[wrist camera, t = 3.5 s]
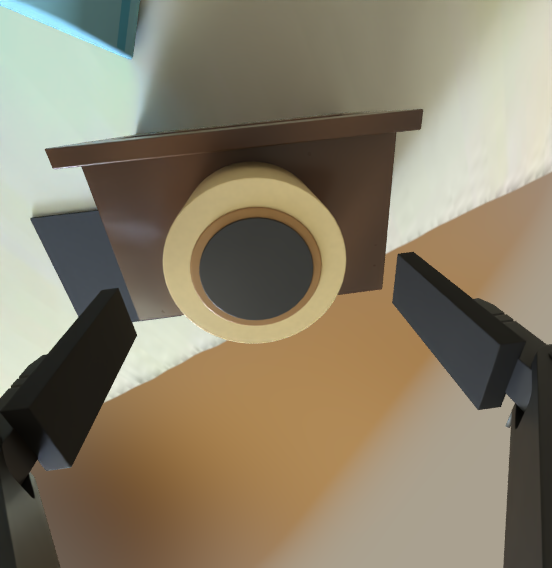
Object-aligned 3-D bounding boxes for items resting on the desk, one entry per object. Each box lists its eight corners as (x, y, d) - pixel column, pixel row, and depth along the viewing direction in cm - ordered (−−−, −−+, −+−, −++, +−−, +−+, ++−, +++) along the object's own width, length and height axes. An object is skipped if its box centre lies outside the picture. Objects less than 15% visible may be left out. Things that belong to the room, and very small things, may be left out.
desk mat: (85, 326, 38) (84, 328, 38) (31, 217, 31) (29, 218, 31) (181, 314, 39) (181, 315, 38) (149, 204, 32) (148, 204, 32)
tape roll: (199, 302, 24) (186, 355, 19) (165, 170, 19) (135, 190, 14) (323, 286, 25) (345, 334, 19) (320, 153, 20) (350, 166, 14)
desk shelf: (170, 260, 35) (127, 345, 22) (134, 134, 29) (43, 148, 16) (341, 239, 36) (398, 309, 23) (343, 112, 30) (424, 108, 16)
